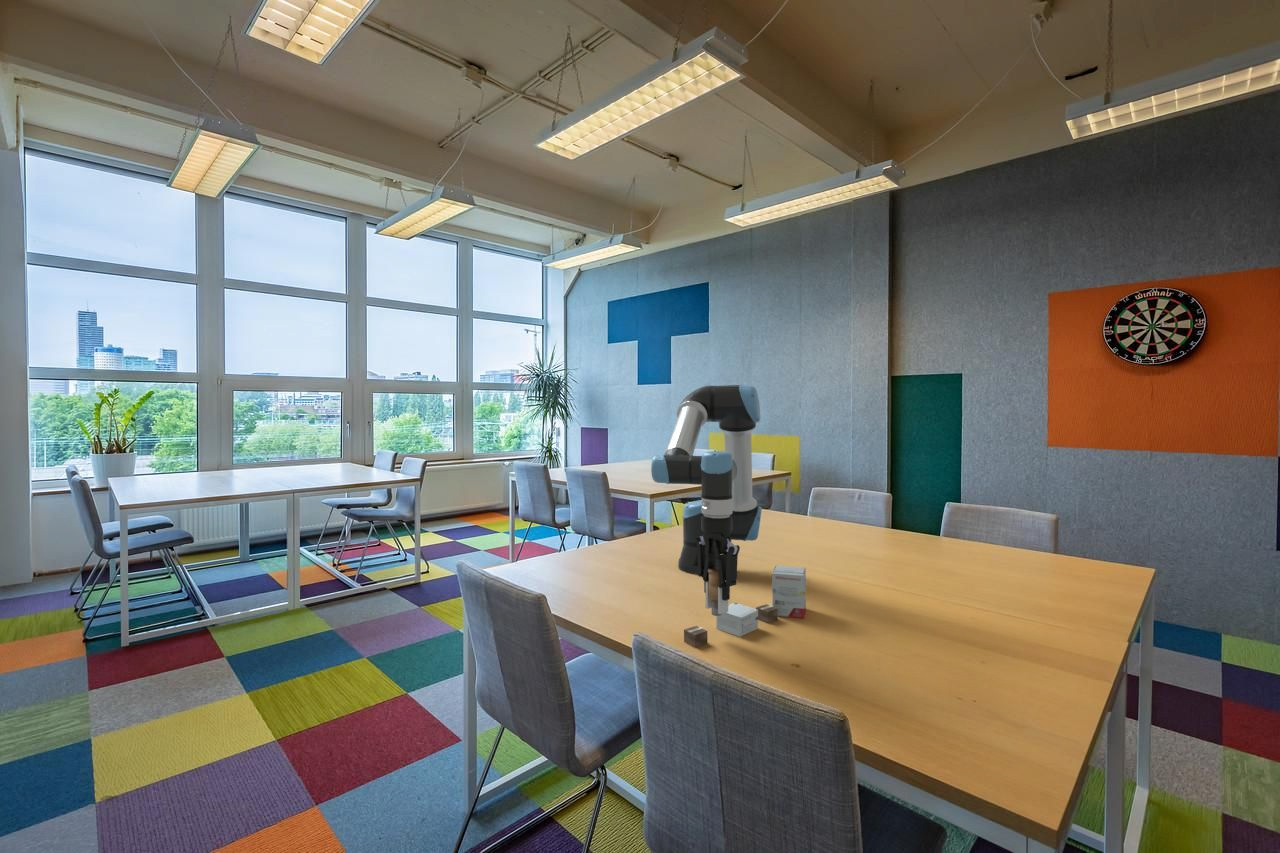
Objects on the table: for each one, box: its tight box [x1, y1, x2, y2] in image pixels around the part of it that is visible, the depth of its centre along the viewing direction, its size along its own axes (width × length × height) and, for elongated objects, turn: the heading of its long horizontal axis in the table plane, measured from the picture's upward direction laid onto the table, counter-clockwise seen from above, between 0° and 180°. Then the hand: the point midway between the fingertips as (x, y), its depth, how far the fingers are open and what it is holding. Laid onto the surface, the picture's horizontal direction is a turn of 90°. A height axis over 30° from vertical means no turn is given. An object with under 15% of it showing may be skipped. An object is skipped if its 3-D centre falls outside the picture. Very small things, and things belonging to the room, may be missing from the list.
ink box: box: [771, 564, 807, 619], centre depth 159 cm, size 9×9×12 cm
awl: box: [708, 567, 722, 617], centre depth 142 cm, size 4×4×11 cm
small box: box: [715, 602, 759, 638], centre depth 148 cm, size 8×8×5 cm
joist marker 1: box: [683, 625, 708, 648], centre depth 140 cm, size 4×4×3 cm
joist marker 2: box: [755, 604, 779, 624], centre depth 154 cm, size 4×4×3 cm
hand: (716, 609), depth 142 cm, fingers closed on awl, 4 cm apart
